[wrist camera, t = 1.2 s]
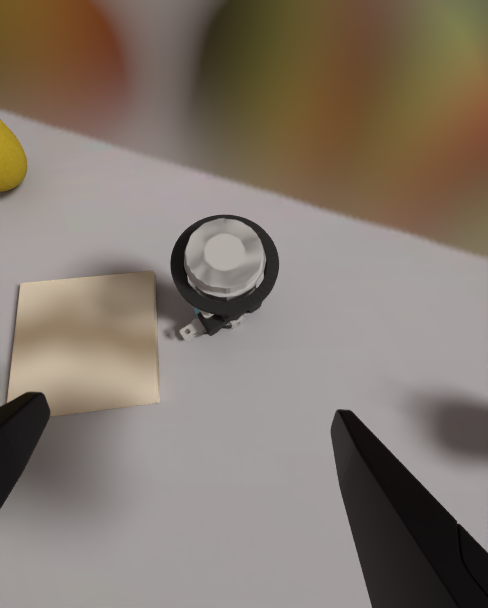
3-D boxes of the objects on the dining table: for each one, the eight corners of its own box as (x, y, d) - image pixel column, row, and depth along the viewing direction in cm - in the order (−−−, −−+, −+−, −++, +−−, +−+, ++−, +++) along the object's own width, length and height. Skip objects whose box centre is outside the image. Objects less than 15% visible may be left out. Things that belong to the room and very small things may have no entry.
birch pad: (159, 402, 20) (156, 403, 19) (13, 421, 19) (4, 422, 19) (155, 274, 23) (152, 270, 22) (27, 286, 22) (20, 283, 22)
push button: (202, 367, 21) (177, 348, 11) (167, 310, 22) (118, 250, 13) (274, 319, 22) (305, 267, 13) (237, 268, 24) (240, 185, 14)
